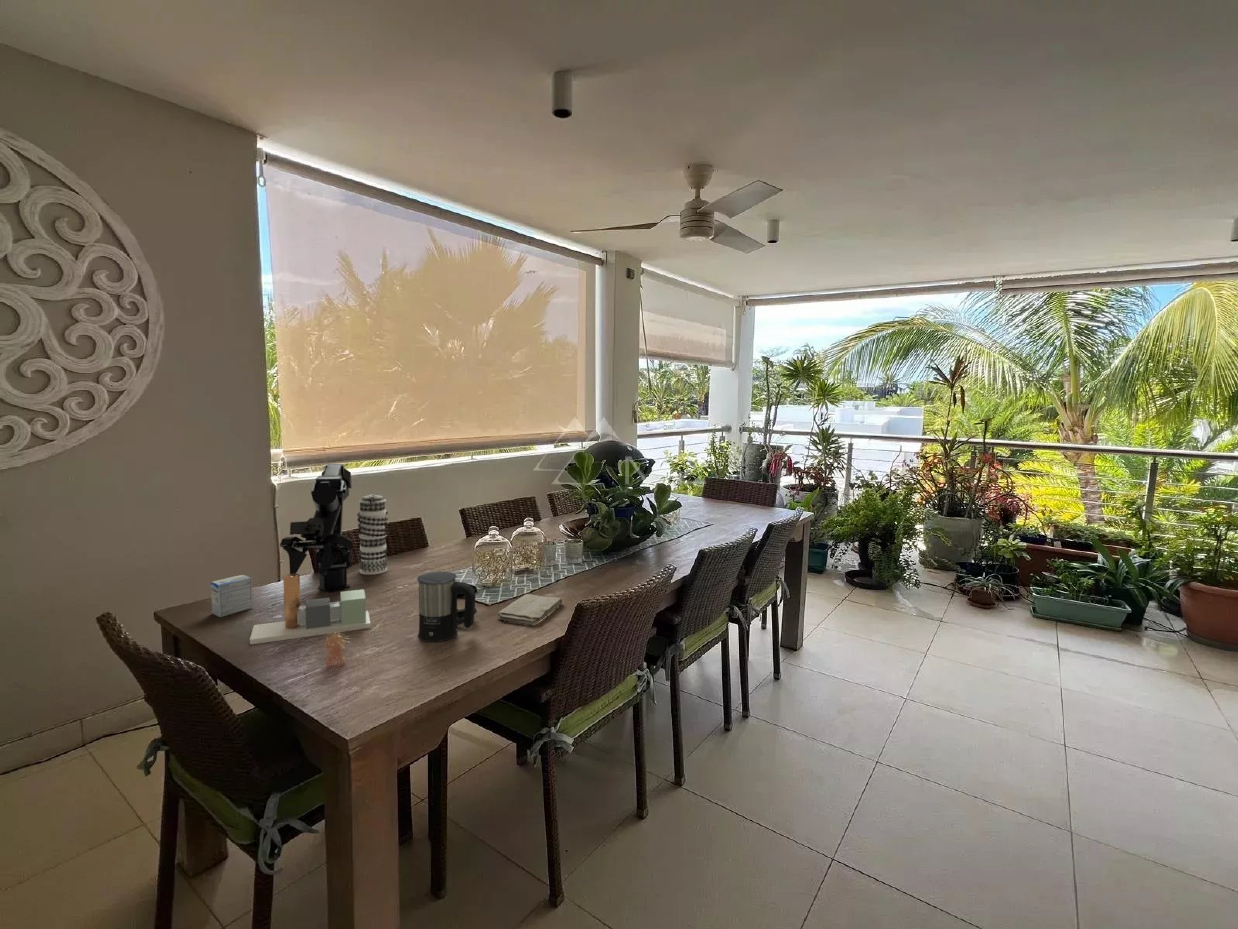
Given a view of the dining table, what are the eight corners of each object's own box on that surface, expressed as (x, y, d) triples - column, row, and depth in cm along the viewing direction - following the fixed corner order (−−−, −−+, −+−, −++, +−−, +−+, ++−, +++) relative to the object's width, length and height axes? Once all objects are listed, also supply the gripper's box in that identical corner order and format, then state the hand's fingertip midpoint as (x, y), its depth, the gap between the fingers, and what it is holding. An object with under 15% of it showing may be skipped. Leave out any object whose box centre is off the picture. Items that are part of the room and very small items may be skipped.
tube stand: (249, 644, 131) (248, 617, 130) (254, 629, 139) (253, 603, 138) (370, 627, 142) (370, 602, 142) (368, 615, 150) (367, 591, 149)
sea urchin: (292, 668, 121) (291, 634, 120) (346, 648, 131) (345, 617, 130) (323, 685, 114) (322, 649, 113) (377, 663, 124) (376, 630, 123)
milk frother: (415, 644, 134) (415, 583, 132) (420, 618, 149) (420, 564, 148) (477, 640, 138) (478, 580, 136) (476, 615, 153) (476, 561, 151)
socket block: (341, 625, 140) (341, 601, 139) (340, 615, 146) (340, 591, 146) (365, 622, 143) (365, 598, 142) (364, 612, 149) (363, 589, 148)
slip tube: (284, 628, 136) (282, 578, 135) (285, 623, 139) (283, 574, 138) (356, 619, 143) (355, 571, 142) (355, 614, 146) (355, 567, 145)
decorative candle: (359, 567, 190) (358, 493, 187) (389, 565, 193) (388, 493, 190) (356, 575, 181) (355, 498, 178) (387, 574, 184) (386, 498, 181)
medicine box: (244, 605, 154) (243, 574, 153) (253, 608, 152) (251, 577, 151) (211, 614, 147) (210, 581, 146) (220, 618, 145) (218, 585, 144)
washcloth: (495, 622, 150) (495, 611, 150) (525, 600, 167) (525, 590, 167) (536, 629, 147) (536, 617, 146) (562, 605, 164) (563, 595, 163)
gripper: (274, 509, 150) (252, 566, 142) (332, 504, 145) (313, 563, 137) (305, 525, 159) (286, 579, 152) (361, 521, 154) (344, 577, 147)
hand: (306, 575), depth 147 cm, fingers open, 9 cm apart
